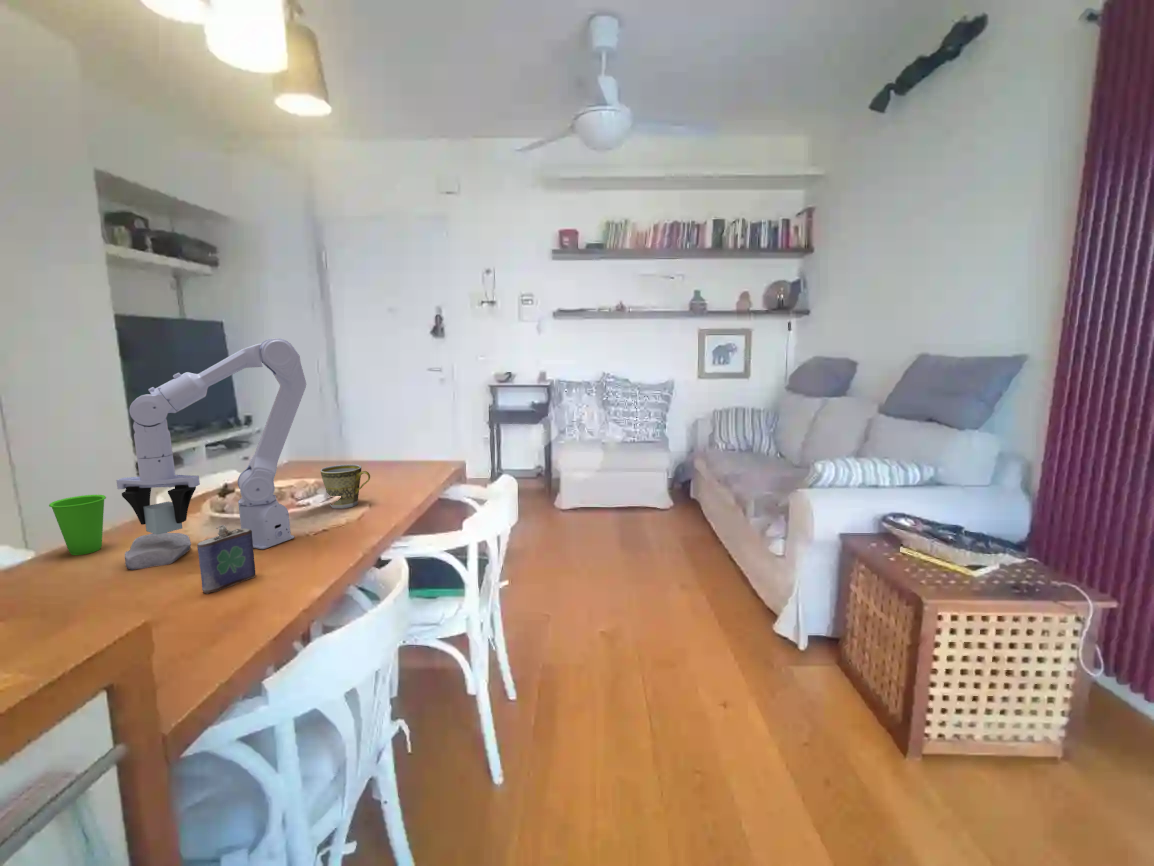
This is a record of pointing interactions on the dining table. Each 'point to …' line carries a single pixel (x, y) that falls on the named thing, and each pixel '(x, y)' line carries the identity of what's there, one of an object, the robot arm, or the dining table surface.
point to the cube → (161, 518)
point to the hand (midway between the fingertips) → (163, 522)
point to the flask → (226, 559)
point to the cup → (80, 522)
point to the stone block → (156, 550)
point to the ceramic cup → (343, 483)
